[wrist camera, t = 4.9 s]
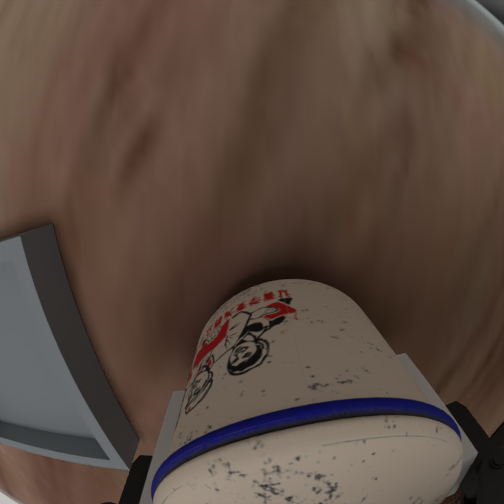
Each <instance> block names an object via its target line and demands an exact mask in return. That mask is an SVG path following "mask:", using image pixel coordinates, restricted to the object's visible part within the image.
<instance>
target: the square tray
mask: <svg viewBox="0 0 504 504" xmlns="http://www.w3.org/2000/svg"><path fill="white" fill-rule="evenodd" d="M0 443H2V444H5V445H8V446H11V447H14V448H18V449H21V450H24V451H28V452H32V453H35V454H39V455H43V456H47V457H51V458H56V459H60V460H65V461H70V462H75V463H81V464H86V465H93V466H99V467H106V468H114V469H123V470H130V468H131V465H132V461H133V458H134V455H135V452H136V449H137V446H138V443H139V439H138V437H137V435H136V434H135V432H134V430H133V428H132V427H131V425H130V423H129V421H128V420H127V418H126V416H125V414H124V412H123V410H122V408H121V407H120V405H119V403H118V401H117V399H116V397H115V395H114V393H113V391H112V389H111V387H110V385H109V383H108V381H107V379H106V376H105V374H104V372H103V370H102V368H101V366H100V363H99V361H98V359H97V357H96V354H95V352H94V350H93V347H92V345H91V342H90V340H89V337H88V335H87V332H86V330H85V327H84V325H83V322H82V319H81V317H80V314H79V311H78V309H77V306H76V303H75V300H74V297H73V294H72V291H71V288H70V285H69V282H68V279H67V275H66V272H65V269H64V265H63V262H62V259H61V255H60V251H59V248H58V244H57V240H56V236H55V232H54V228H53V224H50V225H46V226H43V227H40V228H36V229H33V230H30V231H26V232H23V233H20V234H17V235H14V236H10V237H7V238H4V239H1V240H0Z"/></svg>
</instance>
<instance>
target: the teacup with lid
mask: <svg viewBox="0 0 504 504" xmlns="http://www.w3.org/2000/svg"><path fill="white" fill-rule="evenodd" d="M462 464H463V445H462V439H461V434H460V430H459V428H458V426H457V424H456V422H455V421H454V420H453V419H452V417H451V416H450V415H448V414H447V413H446V412H445V411H443V410H442V409H440V408H438V407H436V406H434V405H432V404H431V403H430V401H429V400H428V398H427V397H426V395H425V394H424V393H423V391H422V390H421V388H420V387H419V386H418V384H417V383H416V381H415V380H414V379H413V377H412V376H411V375H410V373H409V372H408V370H407V369H406V368H405V366H404V365H403V364H402V362H401V361H400V359H399V358H398V357H397V355H396V354H395V353H394V351H393V350H392V349H391V347H390V346H389V345H388V343H387V342H386V341H385V339H384V338H383V337H382V335H381V334H380V333H379V331H378V330H377V329H376V327H375V326H374V325H373V324H372V322H371V321H370V320H369V318H368V317H367V316H366V314H365V313H364V312H363V311H362V309H361V308H360V307H359V306H358V305H357V304H356V303H355V302H354V301H353V300H352V299H351V298H350V297H348V296H347V295H346V294H344V293H343V292H341V291H339V290H337V289H336V288H333V287H331V286H329V285H326V284H323V283H320V282H316V281H311V280H303V279H284V280H276V281H270V282H266V283H262V284H259V285H256V286H253V287H251V288H248V289H246V290H244V291H242V292H240V293H239V294H237V295H235V296H234V297H232V298H231V299H229V300H228V301H227V302H225V303H224V304H223V305H222V306H221V307H220V308H219V309H218V310H217V311H216V312H215V313H214V314H213V315H212V317H211V318H210V319H209V321H208V322H207V324H206V326H205V327H204V329H203V331H202V333H201V336H200V338H199V342H198V345H197V349H196V352H195V356H194V360H193V363H192V367H191V371H190V374H189V378H188V382H187V385H186V389H185V393H184V397H183V400H182V404H181V408H180V412H179V416H178V419H177V423H176V427H175V431H174V435H173V439H172V443H171V447H170V451H169V455H168V458H167V459H166V460H165V461H164V462H163V463H162V464H161V465H160V467H159V468H158V470H157V471H156V473H155V475H154V478H153V480H152V485H151V498H152V501H153V504H441V503H442V502H443V500H444V499H445V498H446V497H447V496H448V494H449V493H450V491H451V490H452V488H453V487H454V485H455V483H456V482H457V480H458V477H459V475H460V472H461V468H462Z"/></svg>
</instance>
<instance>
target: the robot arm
mask: <svg viewBox="0 0 504 504" xmlns="http://www.w3.org/2000/svg"><path fill="white" fill-rule="evenodd" d="M397 357H398V358H399V359H400V361H401V362H402V364H403V365H404V366H405V368H406V369H407V370H408V372H409V373H410V375H411V376H412V377H413V379H414V380H415V381H416V383H417V384H418V386H419V387H420V388H421V390H422V391H423V393H424V394H425V395H426V397H427V398H428V400H429V401H430V403H431V404H432V405H434V406H436V407H438V408H440V409H442V410H443V411H445V412H446V413H447V414H448V415H450V416H451V417H452V419H453V420H454V421H455V422H456V424H457V426H458V428H459V430H460V434H461V439H462V445H463V464H462V468H461V472H460V475H459V477H458V480H457V482H456V483H455V485H454V487H453V488H452V490H451V491H450V493H449V494H448V496H450V495H452V494H454V493H455V492H456V491H457V489H458V488H459V486H460V487H461V489H462V491H463V492H462V494H461V495H460V497H459V498H458V500H457V501H456V504H459V503H460V504H504V424H503V425H502V426H501V427H500V428H499V430H498V431H497V432H496V433H495V434H494V436H493V437H492V438H491V439H490V438H489V437H488V435H487V434H486V433H485V431H484V430H483V429H482V427H481V426H480V425H479V423H477V421H476V419H475V418H474V417H472V414H471V413H470V412H469V410H468V409H467V408H466V407H465V406H464V405H462V404H460V403H458V402H457V401H455V402H453V403H450V404H448V405H444V403H443V402H442V401H441V399H440V398H439V396H438V395H437V394H436V392H435V391H434V390H433V388H432V387H431V386H430V384H429V383H428V382H427V380H426V379H425V378H424V376H423V375H422V374H421V372H420V371H419V370H418V368H417V367H416V366H415V364H414V363H413V362H412V361H411V359H410V358H409V357H408V355H407V354H406V353H403V354H399V355H397ZM184 393H185V391H173V393H172V396H171V399H170V402H169V405H168V408H167V412H166V415H165V418H164V421H163V425H162V428H161V431H160V434H159V438H158V441H157V444H156V447H155V451H154V454H153V456H145V455H140V456H139V457H138V458H137V459H136V460H135V461H134V462H133V463H132V466H131V469H130V472H129V476H128V477H127V480H126V484H125V486H124V489H123V492H122V495H121V498H120V501H119V504H153V501H152V498H151V485H152V480H153V478H154V475H155V473H156V471H157V470H158V468H159V467H160V465H161V464H162V463H163V462H164V461H165V460H166V459H167V458H168V455H169V451H170V447H171V443H172V439H173V435H174V431H175V427H176V423H177V419H178V416H179V412H180V408H181V404H182V400H183V397H184ZM448 496H447V497H448ZM102 504H115V503H112V502H106V503H102Z"/></svg>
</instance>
